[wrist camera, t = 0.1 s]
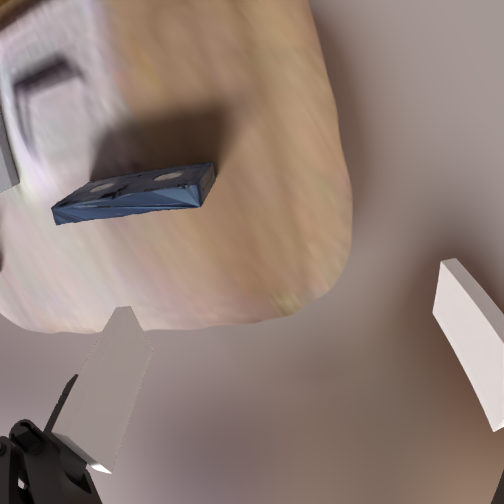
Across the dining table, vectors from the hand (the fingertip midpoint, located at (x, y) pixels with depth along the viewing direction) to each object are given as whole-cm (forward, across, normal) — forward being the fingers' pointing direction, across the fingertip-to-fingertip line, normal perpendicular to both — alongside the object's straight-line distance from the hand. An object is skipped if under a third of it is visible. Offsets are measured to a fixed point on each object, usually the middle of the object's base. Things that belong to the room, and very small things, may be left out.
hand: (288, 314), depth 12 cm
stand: (+28, -51, +16) cm, 61 cm away
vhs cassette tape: (+28, -16, +1) cm, 33 cm away
